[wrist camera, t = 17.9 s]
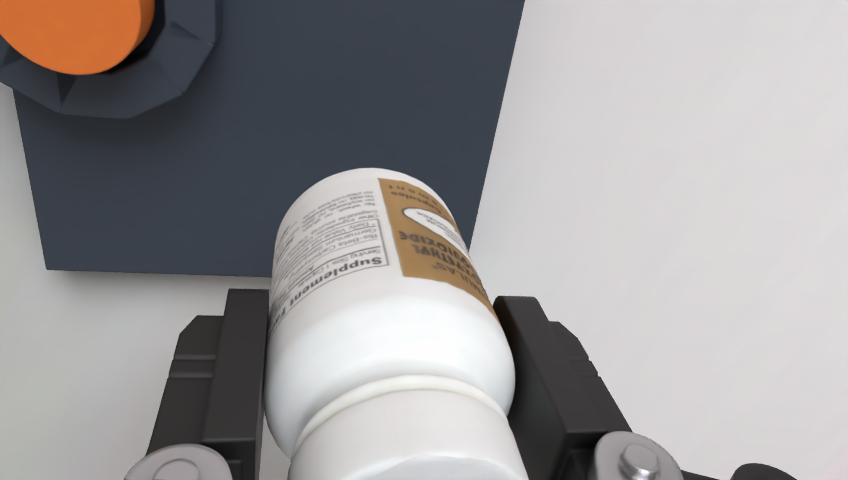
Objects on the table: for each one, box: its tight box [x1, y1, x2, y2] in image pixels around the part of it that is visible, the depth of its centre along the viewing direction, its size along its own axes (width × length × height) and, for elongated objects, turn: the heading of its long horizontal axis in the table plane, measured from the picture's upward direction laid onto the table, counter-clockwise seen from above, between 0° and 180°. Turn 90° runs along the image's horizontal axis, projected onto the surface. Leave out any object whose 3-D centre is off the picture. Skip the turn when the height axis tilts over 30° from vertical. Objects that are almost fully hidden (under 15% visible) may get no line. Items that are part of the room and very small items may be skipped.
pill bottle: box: [264, 168, 529, 480], centre depth 11 cm, size 4×4×8 cm
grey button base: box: [0, 0, 525, 277], centre depth 18 cm, size 14×12×3 cm
